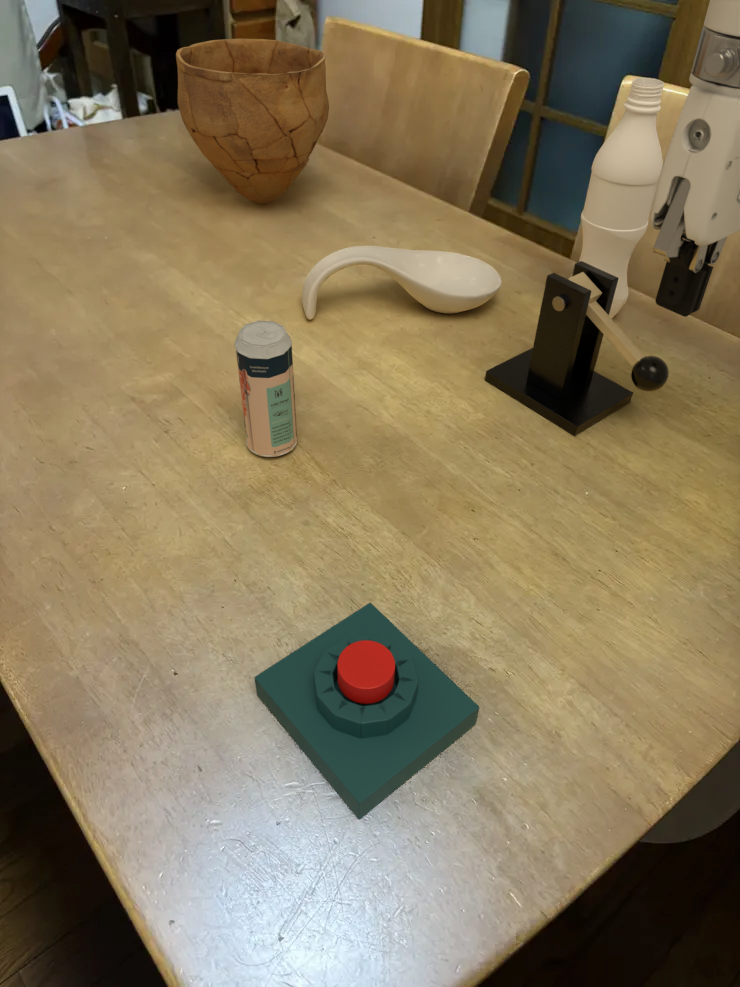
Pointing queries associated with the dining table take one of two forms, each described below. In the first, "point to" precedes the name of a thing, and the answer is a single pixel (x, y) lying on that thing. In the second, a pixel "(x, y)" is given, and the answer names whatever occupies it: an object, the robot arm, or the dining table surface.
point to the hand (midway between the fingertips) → (676, 307)
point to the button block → (366, 711)
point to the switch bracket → (565, 357)
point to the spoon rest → (414, 276)
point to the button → (366, 672)
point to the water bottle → (623, 187)
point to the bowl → (253, 109)
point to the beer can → (267, 387)
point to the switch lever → (624, 343)
